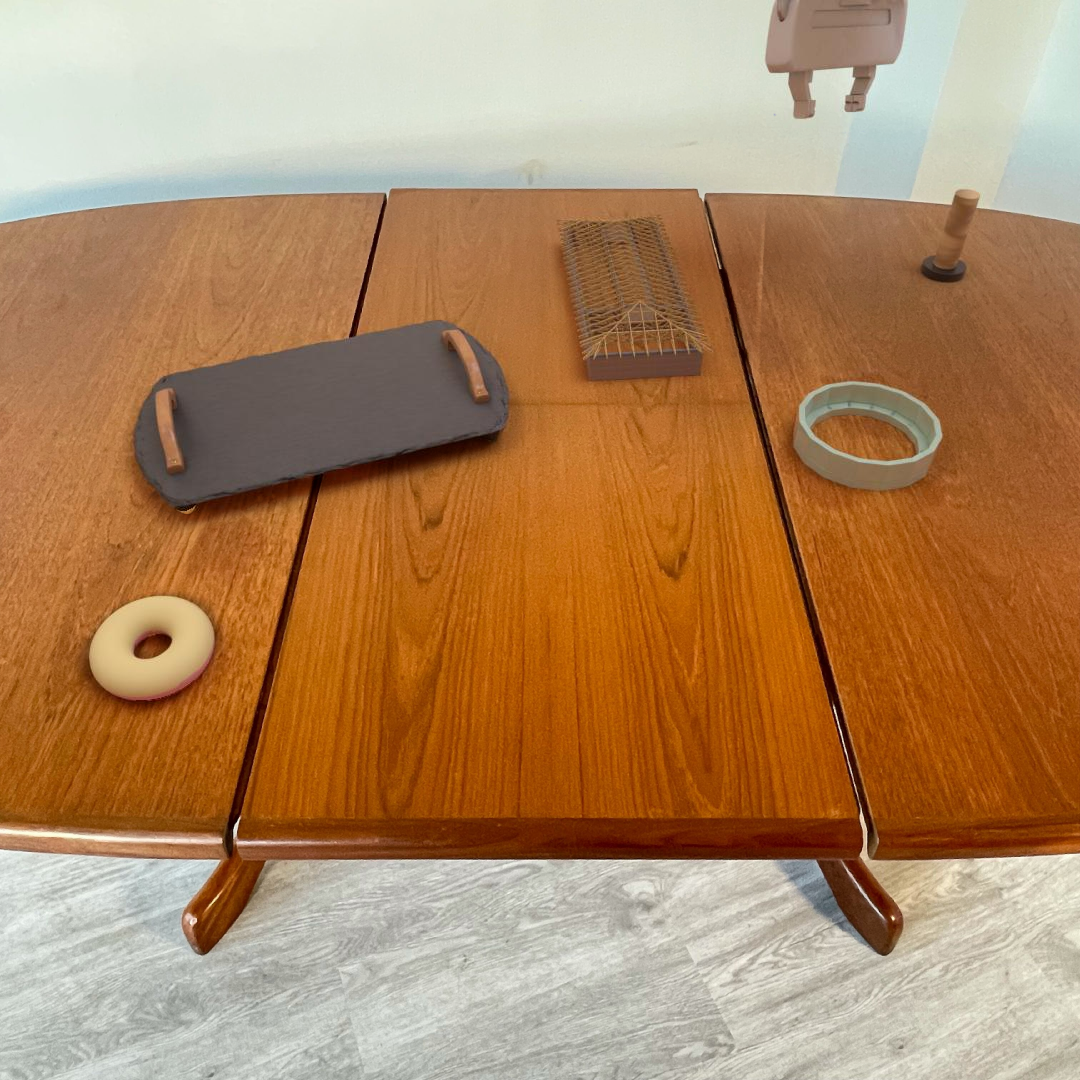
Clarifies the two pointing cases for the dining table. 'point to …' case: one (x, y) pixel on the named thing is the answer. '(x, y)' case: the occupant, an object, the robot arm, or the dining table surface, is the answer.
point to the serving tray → (316, 410)
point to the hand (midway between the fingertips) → (829, 115)
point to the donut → (160, 673)
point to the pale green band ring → (875, 404)
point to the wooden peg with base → (952, 240)
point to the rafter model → (636, 314)
